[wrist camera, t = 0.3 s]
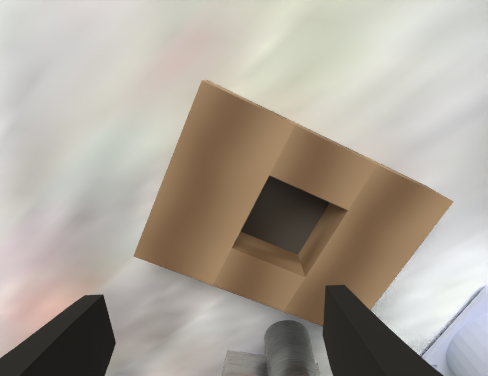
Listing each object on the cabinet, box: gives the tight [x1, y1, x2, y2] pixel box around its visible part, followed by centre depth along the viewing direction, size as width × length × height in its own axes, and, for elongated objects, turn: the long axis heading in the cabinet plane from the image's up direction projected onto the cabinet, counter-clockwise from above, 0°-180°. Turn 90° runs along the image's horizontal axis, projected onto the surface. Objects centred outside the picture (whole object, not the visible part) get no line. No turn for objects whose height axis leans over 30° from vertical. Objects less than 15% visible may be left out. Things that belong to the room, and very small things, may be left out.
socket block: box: [134, 80, 453, 326], centre depth 17 cm, size 14×10×2 cm
